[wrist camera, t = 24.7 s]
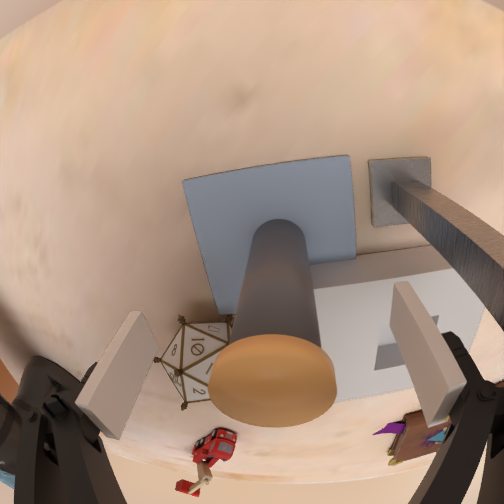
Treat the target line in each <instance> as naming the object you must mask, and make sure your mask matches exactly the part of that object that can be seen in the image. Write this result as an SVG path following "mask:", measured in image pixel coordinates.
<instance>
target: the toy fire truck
mask: <svg viewBox="0 0 504 504" xmlns="http://www.w3.org/2000/svg"><path fill="white" fill-rule="evenodd" d="M236 439H237V436H236V435H235V434H234V433H232V432H229V431H226V430H222V429H218V430H216V429H214V430H213V432H212V434H211V435H209V436H208V437H206V438H202V439H201V441H199V440H198V441H197V443H196V445H194V448H193V452H192V455H194V457H193V462H195V463H197V469H198V477H199V481H197V482H196V483H192V482H189V481H186V480H180V481H178V482H177V483H176V488H175V490H176V491H180V492H183V493H186V494H190V495H193V496H196V497H199V494H200V487H201V486H203V485H204V484H206V485H207V484H208V483H209V482H210V480H211V479H212V474H211V471H210V469H209V468H210V467H212V466H213V465H214V464H215V463H216V462H217V461H218V460H219V459H221V460H223V461H227V460H229V459H230V458H231V457H232V455H233V452H234V449H235V443H236ZM202 459H205V460H206V461H202Z"/></svg>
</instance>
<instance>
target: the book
mask: <svg viewBox="0 0 504 504" xmlns="http://www.w3.org/2000/svg"><path fill="white" fill-rule="evenodd" d="M495 386H496V387H504V381H502V382H500V383H498V384H495ZM450 424H451V420H450V417H449V415H448V417H447V419H446V420H445V422H444V423H441V424H438V425H435V426H432V427H429V428H428V426H427V423H426V420H425V417H424V414H423V411H419V412H415V413H411V414H407V415H404V417H403V420H402V423H388V424H387V425H386V427H385V428H384V429H383V428H382V430H380V431H378V432H376V433H374V434H373V435H376V434H381V433H396V434H397V436H396V438H395V441H394V443H393V446H392V448H391V449H390V450H389V451H388V456H392V455H394V458H392V459H391V460H390V461H389V464H388V465H397V464H399V463H402V462H403V461H406V460H410V459H413V458H417V457H420V456H423V455H427V454H430V453H433V452H436V454H437V452H438V450H439V447H440V445H441V443H442V441H443V439H444V437H445V434H444V433H445V431H446V430H447V428H448V427H449V425H450Z"/></svg>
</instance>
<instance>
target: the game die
mask: <svg viewBox="0 0 504 504" xmlns="http://www.w3.org/2000/svg"><path fill="white" fill-rule="evenodd" d="M231 319H232V314H230V315H229V316H227V318H226V321H225V322H198V323H186V322H185V319H184V317H183V316H181V315H179V319H178V321H180V323H181V324H182V326H181V327H180V329H179V330H178V332H177V334H176V335H175V337H174V338H173V340H172V341H171V343H170V345H169V346H168V348H167V349H166V351H165V353H164V354H163V356H162V357H161V358H158V357H155V358H154V360H153V361H154V362H155V363H156V362H157V363H158V362H161V363H162V365H163V367H164V368H165V370H166V372H167V374H168V375H169V377H170V379H171V380H172V382H173V384H174V385H175V387H176V389H177V390H178V392H179V393H180V395H181V397H182V398H183V400H184V403H182V405H181V410H184V409H187V407H188V406H187V405H188V403H192V402H200V401H207V400H211V399H210V397H209V394H208V383H209V379H210V375H211V371H212V368H213V364H214V361H215V359H216V357H217V355H218V354H219V353H220V352H221V351H222V350H223V349H224V348H225V347H227V346H228V345H229V340H230V336H231V332H232V327H231V325H230V324H229V322H230V321H231Z"/></svg>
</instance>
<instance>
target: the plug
mask: <svg viewBox="0 0 504 504" xmlns="http://www.w3.org/2000/svg"><path fill="white" fill-rule="evenodd" d="M208 394H209V397H210V399H211V401H212V402H213V404H214V405H215V406H216V407H217V408H218V409H219V410H220V411H222V412H223V413H224V414H226V415H227V416H229V417H231V418H233V419H235V420H238V421H240V422H243V423H246V424H250V425H255V426H261V427H288V426H294V425H299V424H303V423H306V422H309V421H311V420H313V419H315V418H317V417H319V416H321V415H322V414H324V413H325V412H326V411H327V410H328V409H329V408H330V407H331V406H332V405H333V403H334V401H335V399H336V396H337V384H336V376H335V369H334V365H333V362H332V360H331V358H330V357H329V356H328V354H327V353H326V352H325V351H324V350H323V349H322V348H321V340H320V332H319V324H318V317H317V310H316V303H315V296H314V289H313V283H312V276H311V270H310V264H309V258H308V252H307V246H306V240H305V236H304V234H303V232H302V230H301V229H300V228H299V227H298V226H297V225H296V224H294V223H293V222H291V221H288V220H284V219H273V220H270V221H267V222H265V223H263V224H262V225H261V226H260V227H259V228H258V229H257V230H256V232H255V234H254V236H253V240H252V245H251V249H250V253H249V258H248V262H247V266H246V271H245V275H244V279H243V284H242V288H241V292H240V297H239V301H238V305H237V310H236V314H235V318H234V323H233V327H232V332H231V336H230V340H229V345H228V346H227V347H225V348H224V349H223V350H222V351H221V352H220V353H219V354H218V355H217V357H216V359H215V361H214V364H213V368H212V371H211V375H210V379H209V383H208Z"/></svg>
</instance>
